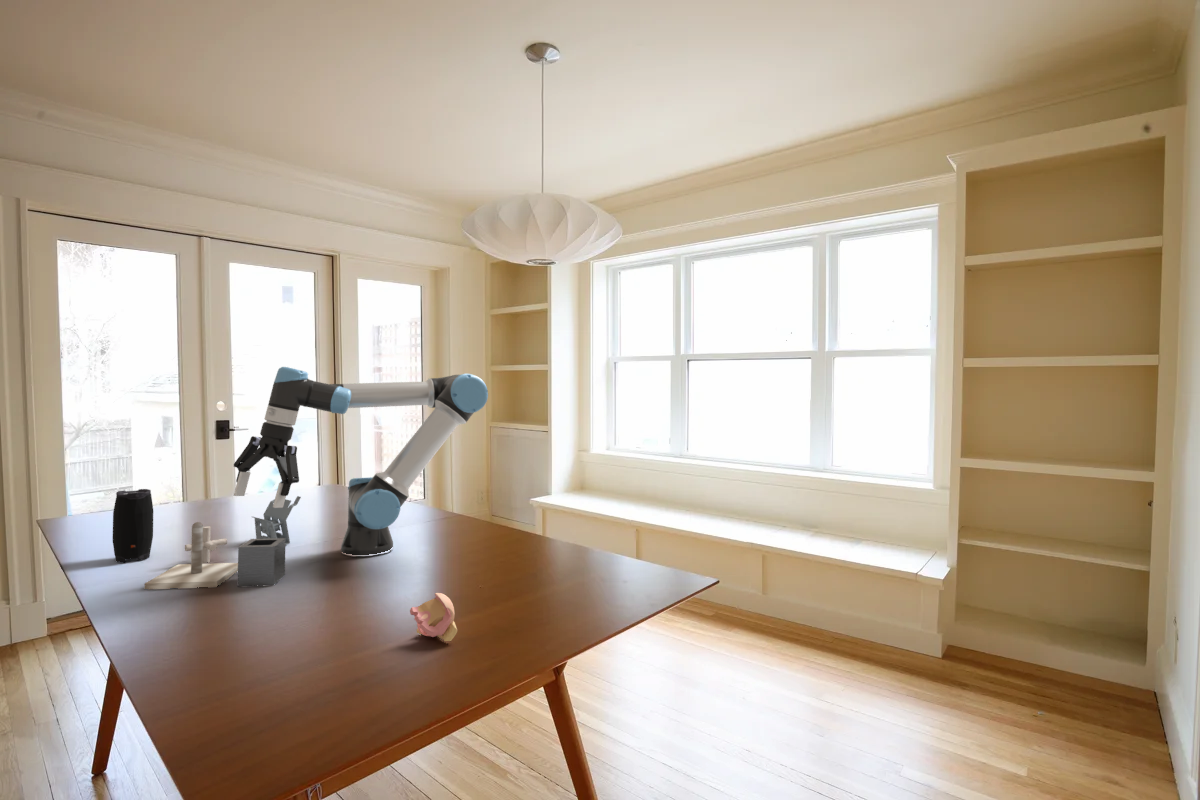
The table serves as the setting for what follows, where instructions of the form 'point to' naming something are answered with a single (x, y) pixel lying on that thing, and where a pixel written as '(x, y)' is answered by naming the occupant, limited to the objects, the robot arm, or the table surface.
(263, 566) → the gray open tub
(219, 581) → the keeper board
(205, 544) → the wooden peg rack
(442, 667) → the table surface
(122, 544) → the portable speaker
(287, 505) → the bracket
